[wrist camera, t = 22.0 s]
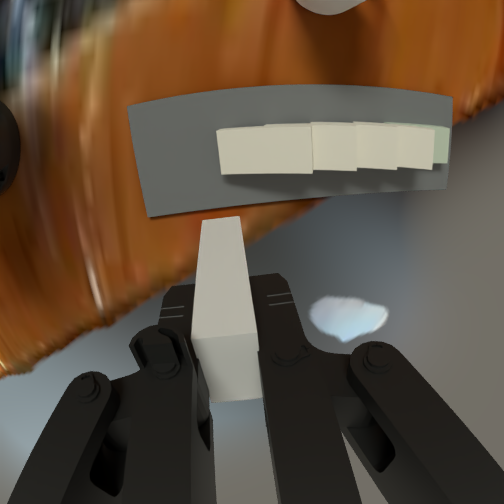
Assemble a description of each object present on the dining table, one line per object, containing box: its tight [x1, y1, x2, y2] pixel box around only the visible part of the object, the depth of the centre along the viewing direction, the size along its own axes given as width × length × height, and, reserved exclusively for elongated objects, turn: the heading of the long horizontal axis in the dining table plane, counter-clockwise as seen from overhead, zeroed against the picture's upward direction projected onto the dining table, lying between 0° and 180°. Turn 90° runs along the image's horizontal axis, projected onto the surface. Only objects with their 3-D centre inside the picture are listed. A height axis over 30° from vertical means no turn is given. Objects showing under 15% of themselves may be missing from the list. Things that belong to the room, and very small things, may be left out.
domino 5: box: [384, 122, 450, 163], centre depth 34 cm, size 2×5×10 cm
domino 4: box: [353, 121, 435, 170], centre depth 32 cm, size 2×5×10 cm
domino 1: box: [216, 125, 313, 175], centre depth 32 cm, size 2×5×10 cm
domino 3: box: [311, 122, 399, 170], centre depth 32 cm, size 2×5×10 cm
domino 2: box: [264, 123, 357, 171], centre depth 32 cm, size 2×5×10 cm
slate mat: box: [127, 84, 452, 217], centre depth 34 cm, size 42×14×1 cm, turn 95°
